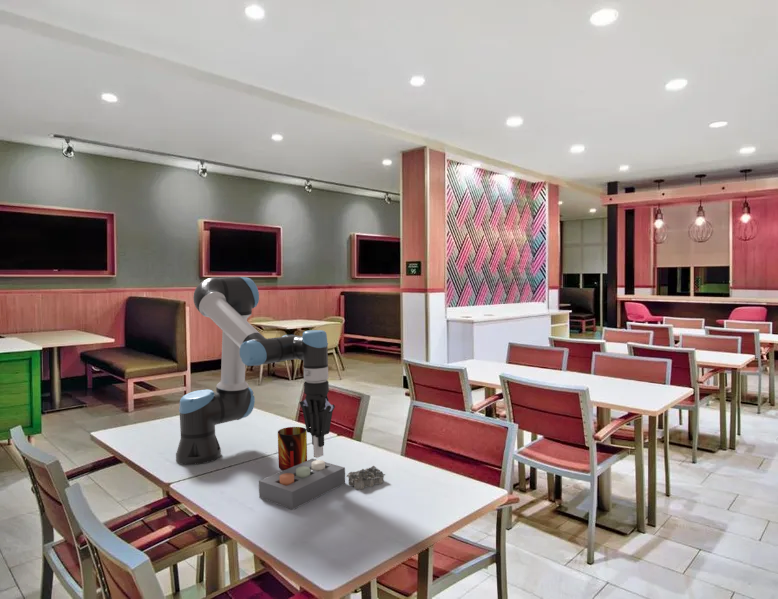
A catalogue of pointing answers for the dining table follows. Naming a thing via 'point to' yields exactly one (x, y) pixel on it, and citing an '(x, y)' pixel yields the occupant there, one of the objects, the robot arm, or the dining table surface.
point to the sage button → (303, 472)
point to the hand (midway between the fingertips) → (318, 456)
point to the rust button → (286, 479)
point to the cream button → (318, 465)
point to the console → (301, 485)
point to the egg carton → (365, 477)
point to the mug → (292, 447)
